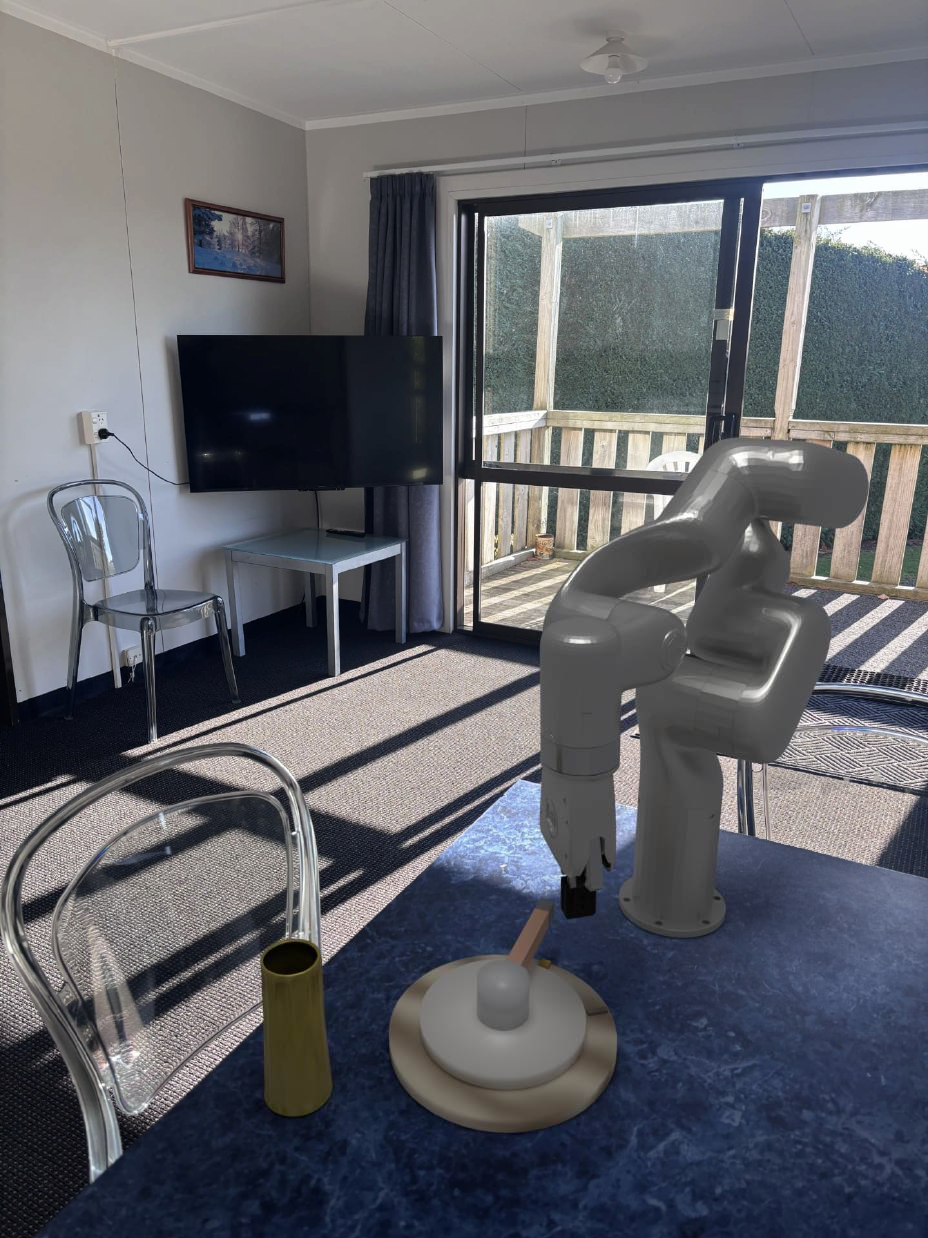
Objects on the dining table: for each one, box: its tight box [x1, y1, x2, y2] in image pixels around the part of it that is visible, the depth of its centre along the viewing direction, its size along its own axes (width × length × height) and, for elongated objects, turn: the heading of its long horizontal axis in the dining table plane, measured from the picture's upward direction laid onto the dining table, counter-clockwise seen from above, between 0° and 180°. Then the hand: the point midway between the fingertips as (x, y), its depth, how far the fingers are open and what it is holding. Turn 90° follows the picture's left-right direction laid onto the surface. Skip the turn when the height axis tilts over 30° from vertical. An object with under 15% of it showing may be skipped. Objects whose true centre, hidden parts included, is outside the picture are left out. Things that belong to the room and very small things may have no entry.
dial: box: [420, 898, 586, 1089], centre depth 90 cm, size 22×16×6 cm
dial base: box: [388, 954, 618, 1134], centre depth 88 cm, size 22×22×2 cm
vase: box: [259, 938, 334, 1118], centre depth 80 cm, size 6×6×14 cm
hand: (578, 912), depth 91 cm, fingers closed
